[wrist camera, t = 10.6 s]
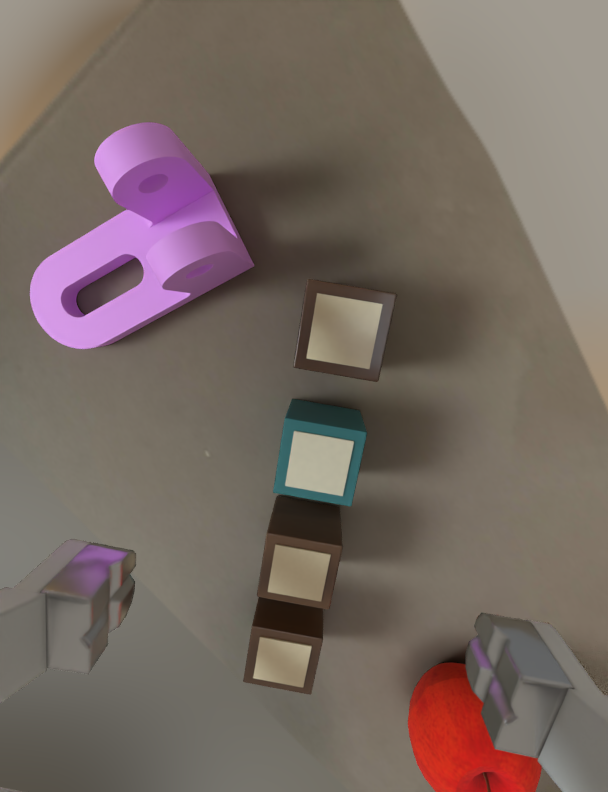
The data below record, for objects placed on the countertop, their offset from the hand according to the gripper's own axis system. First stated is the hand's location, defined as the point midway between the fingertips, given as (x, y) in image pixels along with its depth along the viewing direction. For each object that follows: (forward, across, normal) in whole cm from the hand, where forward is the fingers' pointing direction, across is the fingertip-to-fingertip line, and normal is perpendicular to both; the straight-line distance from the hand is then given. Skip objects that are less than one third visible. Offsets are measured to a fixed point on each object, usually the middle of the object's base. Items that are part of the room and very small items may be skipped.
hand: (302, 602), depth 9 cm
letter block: (+15, 0, +2) cm, 16 cm away
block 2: (+15, 0, +15) cm, 21 cm away
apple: (+15, -13, +18) cm, 28 cm away
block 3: (+16, 0, -6) cm, 17 cm away
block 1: (+15, 0, +8) cm, 18 cm away
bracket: (+16, +12, -7) cm, 21 cm away
